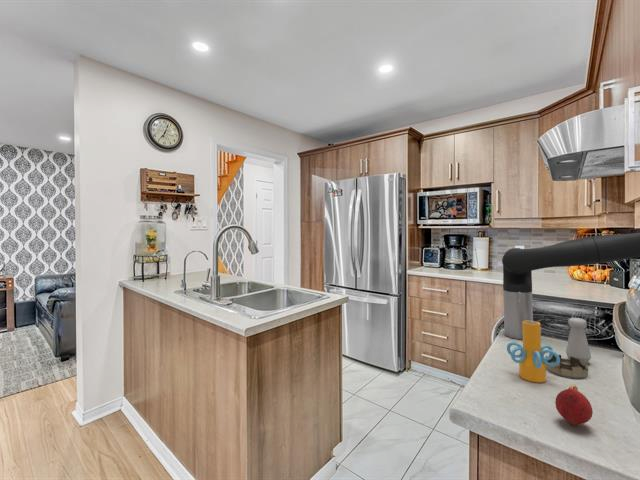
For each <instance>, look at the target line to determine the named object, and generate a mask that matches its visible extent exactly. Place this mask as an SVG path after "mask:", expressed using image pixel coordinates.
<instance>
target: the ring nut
mask: <svg viewBox="0 0 640 480" xmlns="http://www.w3.org/2000/svg"><path fill="white" fill-rule="evenodd" d="M558 355H559V357H560V363H559V365H557V366H554V367H552V366H548V365H546V371H548V372H549V373H551V374H553V375H556V376H559V377H562V378H566V379H573V380H574V379H575V380H583V379H587V378H589V365H588V364H589V363H585V365H584V364H582V363H581V359H578V358H575V357H570V360H569V358H568V359H567V358H562V355H561V354H558ZM548 356H549V355H545V357H544V358H546V357H548ZM547 362H549V363H555V362H556V357H555V355H553V357H552V358H551V359H550V360H548V361H547Z"/></svg>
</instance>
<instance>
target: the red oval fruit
mask: <svg viewBox="0 0 640 480" xmlns="http://www.w3.org/2000/svg"><path fill="white" fill-rule="evenodd" d="M554 402H555V408H556V410H557V412H558V414H559V415H560V417H562V418H563V419H564V420H565V421H566V422H567V423H569V424H571V425H572V426H575V427H576V426H579V425H582V424H585V423H587V422H589V421H590V420H591V419H592V417H593V408H592V405H591V402H590V401H589V399H588V398H587V396H586V395H585V394H583V393H582V392H581V391H579V388H578V386H576V385H575V384H573V385H572V384H571V385H570V386H569V387H568V388H566V389H564V390H561V391H560V392H558V394H557V395H556V398H555V401H554Z"/></svg>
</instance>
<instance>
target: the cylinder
mask: <svg viewBox="0 0 640 480" xmlns="http://www.w3.org/2000/svg"><path fill="white" fill-rule="evenodd" d="M522 327H523V339H522V344H520V343H518V342H516V341H511V342H509V343H508V344H507V345H506V351H507V353H508V354H509V355H510V357H511V360H512V361H513V362H515V363H516V364H518V367H519V368H518V373H519V377H520V378H521V379H523V380H525V381H528V382H531V383H539V384H540V383H544V382H546V381H547V369H546V365H548V366H552V367H554V366H557V365H559V363H560V357H559V355H560V354H558V353H557V352H556V351H554V350H553V348H552V347H551V346H550V345H548V344H543V345H542V339H541V338H542V337H541V335H542V333H541V331H542V330H541V329H542V328H541V322H539V321H535V320H533V321H528V320H526V321H522ZM512 346H516V347H515V348H513V349H512V350H511V347H512ZM518 351H520V353H519V354H516V352H518ZM548 353H549V354H548ZM545 354H548V355H547V356H548V357H546V356H545ZM553 355H555V357H556V362H555V363H549V362H547V361H548V360H550V359H551V358H552V357H553ZM544 356H545V357H546V358H545V357H544Z"/></svg>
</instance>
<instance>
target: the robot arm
mask: <svg viewBox="0 0 640 480" xmlns="http://www.w3.org/2000/svg"><path fill="white" fill-rule="evenodd" d="M638 257H639V258H640V232H633V233H618V234H615V233H614V234H613V233H612V234H604V235H603V234H602V235H593V236H588V237H587V236H586V237H580V238H575V239H570V240H567V241H566V240H565V241H562V242H559V243H554V244H552V245H547V246H544V247H543V246H541V247H532V248H520V247H513V248H510V249H508V250H507V251H505V253H504V254H503V256H502V258H501V259H502V260H501V264H502V273H503V274H502V277H503V278H502V279H503V280H502V286H503V289H502V290H503V327H504V328H503V330H504V331H503V332H504V335H505V336H506V337H507V338H511V339H515V340H516V339H517V340H523V327H522V321H526V320H528V321H534V317H533V315H534V311H533V310H534V309H533V308H534V305H533V278H532V274H533V273H532V272H533V271H536V270H537V271H538V270H543V269H548V268H560V267H562V268H563V267H566V268H567V267H579V266H588V265H589V266H590V265H597V264H599V265H600V264H604V263H605V264H606V263H611V262H619V261H623V260H629V259H633V258H638ZM614 328H615V327H612V328H611V330H610V331H611V335H612V336H614V337H616V336H615V332H614Z"/></svg>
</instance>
